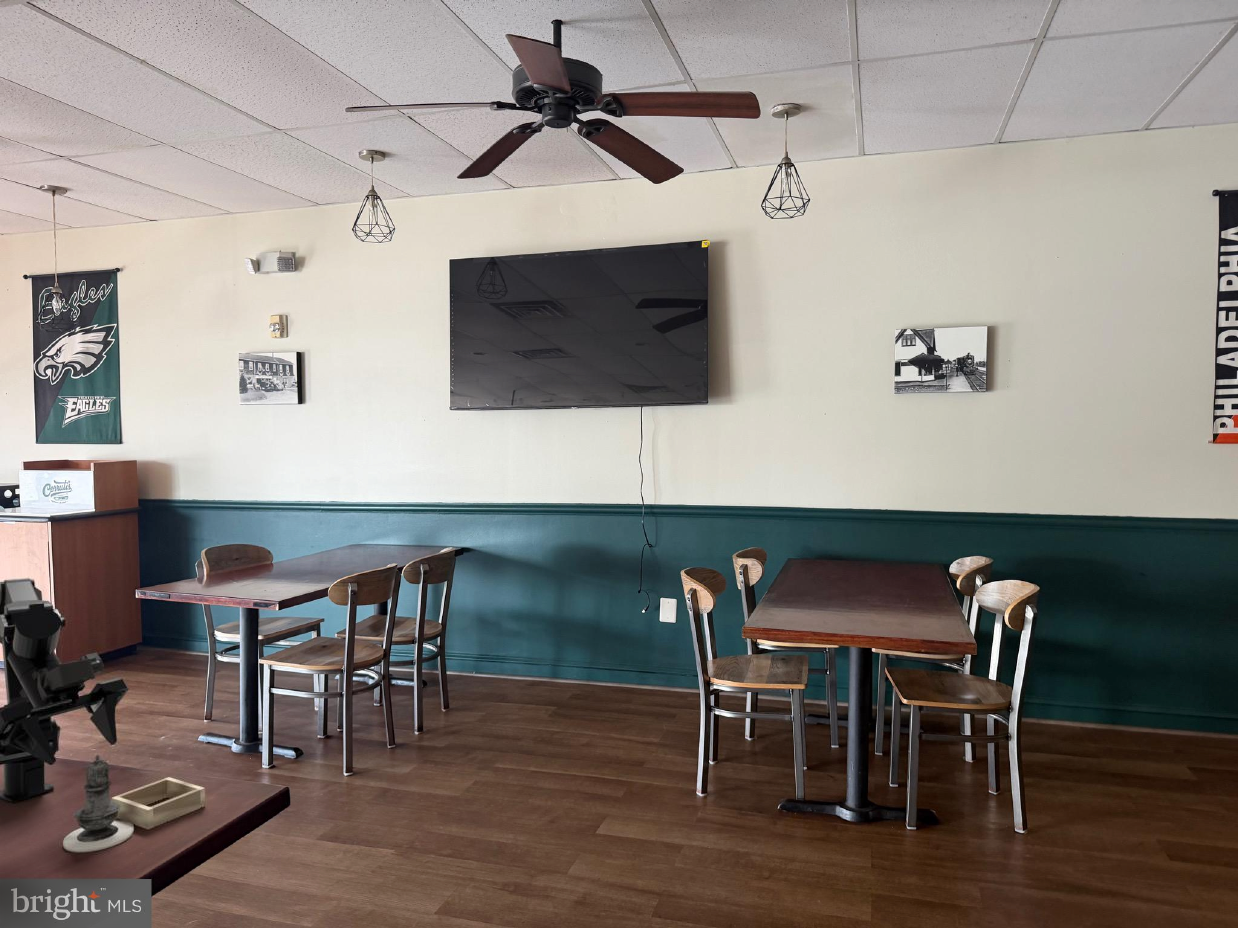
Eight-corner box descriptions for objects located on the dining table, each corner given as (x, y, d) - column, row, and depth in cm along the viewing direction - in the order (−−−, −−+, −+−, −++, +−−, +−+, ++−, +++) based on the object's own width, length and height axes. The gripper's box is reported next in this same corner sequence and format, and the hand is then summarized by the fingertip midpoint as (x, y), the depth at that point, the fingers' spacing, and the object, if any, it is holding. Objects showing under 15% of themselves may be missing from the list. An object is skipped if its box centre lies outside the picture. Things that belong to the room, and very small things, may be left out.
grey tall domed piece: (97, 844, 120) (97, 763, 120) (64, 840, 121) (64, 760, 121) (129, 826, 126) (129, 749, 125) (97, 823, 127) (97, 746, 127)
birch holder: (111, 816, 131) (111, 797, 131) (168, 794, 139) (168, 776, 139) (148, 829, 126) (148, 810, 126) (204, 805, 135) (204, 787, 135)
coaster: (50, 843, 121) (50, 839, 121) (111, 819, 129) (111, 815, 129) (85, 857, 117) (85, 853, 117) (146, 832, 125) (146, 828, 125)
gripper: (-4, 653, 118) (43, 740, 114) (121, 628, 135) (166, 703, 131) (-35, 700, 122) (9, 786, 117) (91, 670, 139) (134, 745, 134)
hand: (85, 752), depth 125 cm, fingers open, 9 cm apart
